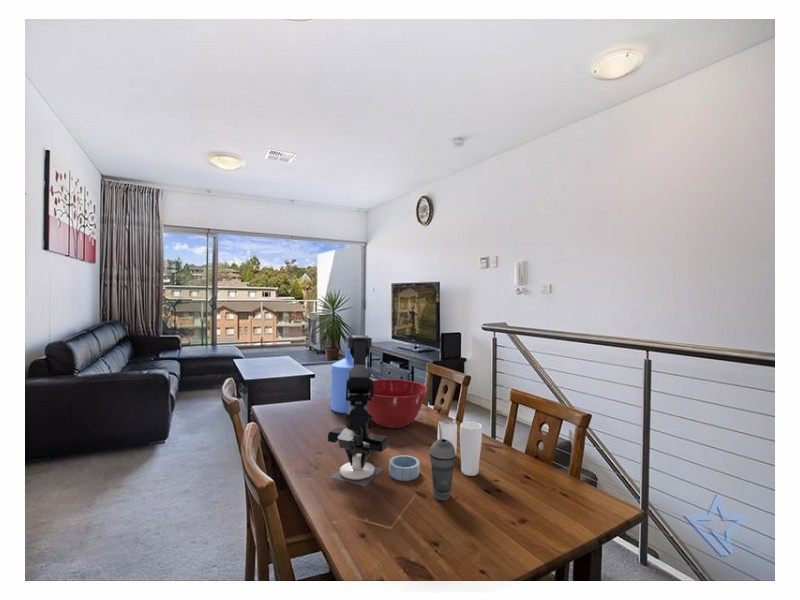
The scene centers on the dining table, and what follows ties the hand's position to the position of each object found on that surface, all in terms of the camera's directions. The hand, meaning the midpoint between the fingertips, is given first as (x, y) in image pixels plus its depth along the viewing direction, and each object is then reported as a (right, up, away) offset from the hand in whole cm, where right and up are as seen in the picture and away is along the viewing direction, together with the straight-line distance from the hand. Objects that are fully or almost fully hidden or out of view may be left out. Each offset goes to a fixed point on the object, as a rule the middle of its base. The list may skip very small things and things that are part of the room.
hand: (357, 466), depth 119 cm
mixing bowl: (+10, -2, +47) cm, 48 cm away
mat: (0, -2, 0) cm, 2 cm away
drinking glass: (+35, -3, +3) cm, 35 cm away
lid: (0, -1, 0) cm, 1 cm away
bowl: (+14, -3, +1) cm, 15 cm away
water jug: (-12, -1, +65) cm, 66 cm away
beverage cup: (+24, -3, -11) cm, 27 cm away
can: (+29, -3, +15) cm, 33 cm away
